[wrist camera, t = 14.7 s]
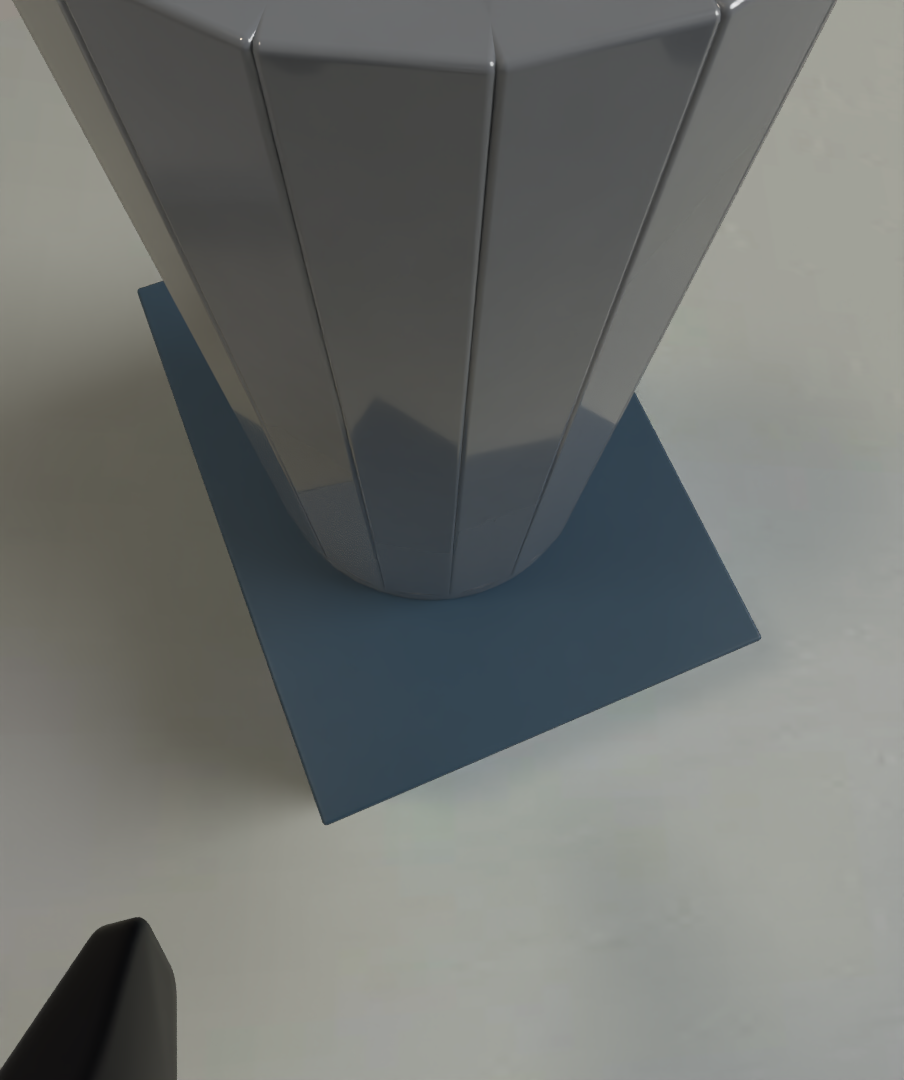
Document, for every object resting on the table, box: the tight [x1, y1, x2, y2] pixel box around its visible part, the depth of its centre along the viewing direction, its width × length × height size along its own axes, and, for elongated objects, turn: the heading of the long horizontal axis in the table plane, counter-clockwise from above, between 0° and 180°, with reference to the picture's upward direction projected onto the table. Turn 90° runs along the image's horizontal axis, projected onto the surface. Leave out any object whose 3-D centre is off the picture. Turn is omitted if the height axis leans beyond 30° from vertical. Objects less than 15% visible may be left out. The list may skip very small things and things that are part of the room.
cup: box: [12, 0, 837, 600], centre depth 11 cm, size 6×6×13 cm
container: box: [138, 281, 761, 825], centre depth 20 cm, size 12×9×5 cm
